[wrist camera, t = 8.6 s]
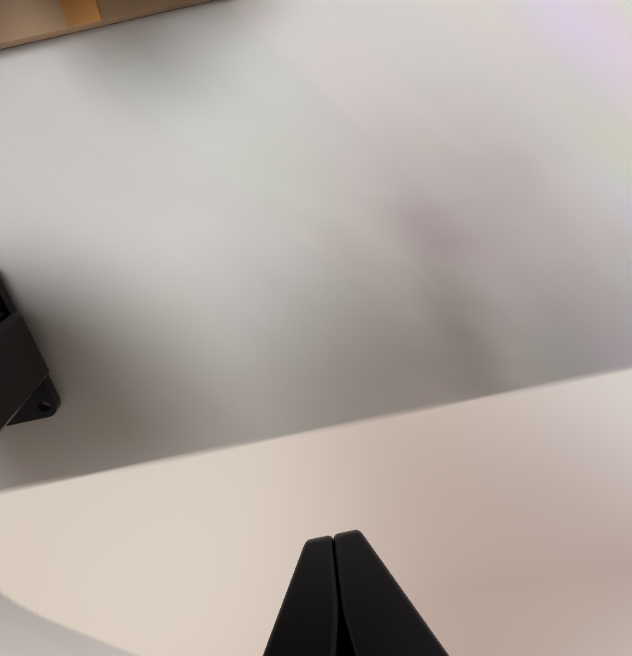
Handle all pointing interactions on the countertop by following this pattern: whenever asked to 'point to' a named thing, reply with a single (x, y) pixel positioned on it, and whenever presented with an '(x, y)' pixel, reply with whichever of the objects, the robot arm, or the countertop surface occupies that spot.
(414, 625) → the robot arm
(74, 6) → the rail
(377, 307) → the countertop surface
